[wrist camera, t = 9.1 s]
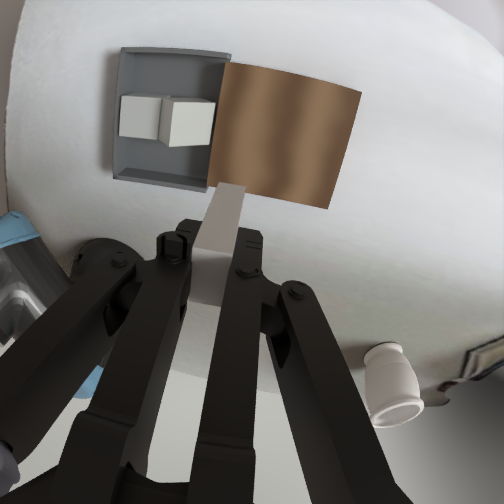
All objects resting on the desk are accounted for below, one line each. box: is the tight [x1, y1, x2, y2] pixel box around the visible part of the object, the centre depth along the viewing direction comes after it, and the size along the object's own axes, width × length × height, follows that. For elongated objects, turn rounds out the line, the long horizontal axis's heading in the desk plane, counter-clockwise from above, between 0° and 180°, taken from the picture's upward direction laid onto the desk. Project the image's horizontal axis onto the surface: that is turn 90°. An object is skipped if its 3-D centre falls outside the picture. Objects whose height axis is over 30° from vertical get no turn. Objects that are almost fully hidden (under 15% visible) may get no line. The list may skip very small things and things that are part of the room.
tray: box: [113, 47, 232, 193], centre depth 34 cm, size 12×17×4 cm
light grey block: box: [119, 93, 171, 140], centre depth 33 cm, size 5×5×4 cm
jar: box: [364, 343, 424, 428], centre depth 52 cm, size 11×10×15 cm
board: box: [207, 62, 362, 209], centre depth 35 cm, size 15×15×4 cm
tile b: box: [158, 98, 216, 147], centre depth 33 cm, size 5×5×4 cm
